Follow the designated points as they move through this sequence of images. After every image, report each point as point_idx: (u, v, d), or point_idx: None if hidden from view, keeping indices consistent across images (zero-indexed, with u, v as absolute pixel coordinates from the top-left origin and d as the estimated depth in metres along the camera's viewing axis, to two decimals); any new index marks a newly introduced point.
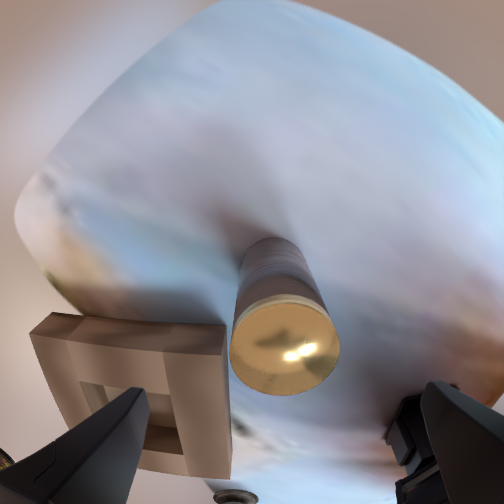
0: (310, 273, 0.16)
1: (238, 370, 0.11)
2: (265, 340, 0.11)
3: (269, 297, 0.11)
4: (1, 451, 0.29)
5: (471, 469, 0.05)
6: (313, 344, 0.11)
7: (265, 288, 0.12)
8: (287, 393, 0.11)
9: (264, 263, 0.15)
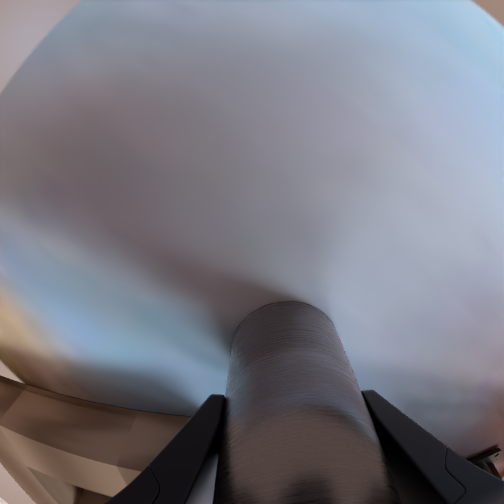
0: (358, 386, 0.08)
1: None
2: None
3: None
4: None
5: None
6: None
7: (278, 491, 0.04)
8: None
9: (273, 386, 0.07)
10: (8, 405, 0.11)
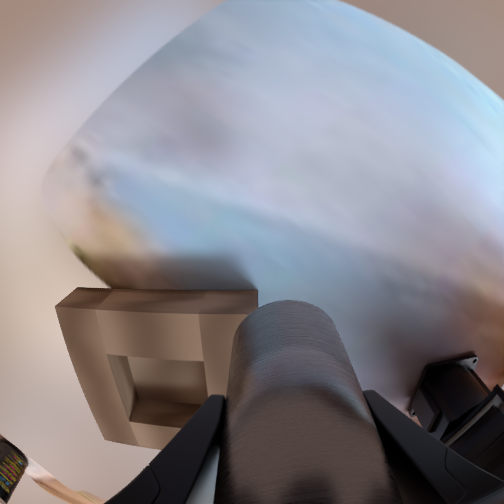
0: (359, 385, 0.08)
1: None
2: None
3: None
4: (13, 447, 0.30)
5: None
6: None
7: (279, 490, 0.04)
8: None
9: (274, 385, 0.07)
10: (101, 299, 0.20)
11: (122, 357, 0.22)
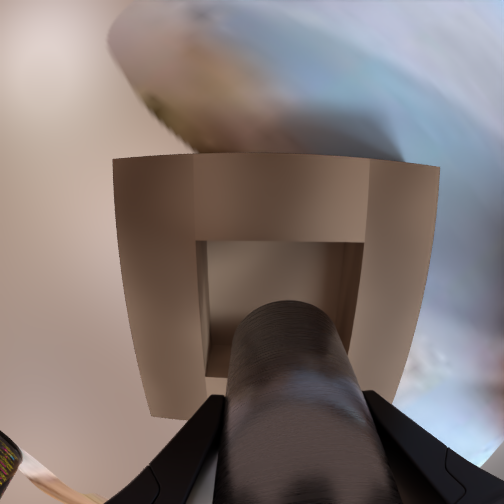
0: (358, 385, 0.07)
1: None
2: None
3: None
4: (3, 436, 0.23)
5: None
6: None
7: (278, 491, 0.04)
8: None
9: (273, 385, 0.07)
10: None
11: (204, 264, 0.15)
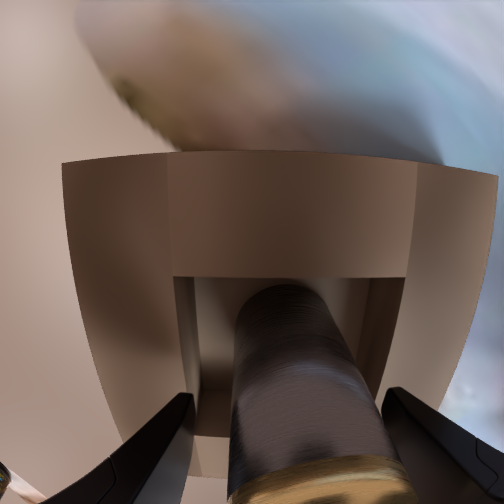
0: (351, 354, 0.09)
1: None
2: None
3: (302, 465, 0.04)
4: None
5: (426, 485, 0.05)
6: None
7: (290, 432, 0.05)
8: None
9: (278, 351, 0.08)
10: None
11: (190, 299, 0.11)
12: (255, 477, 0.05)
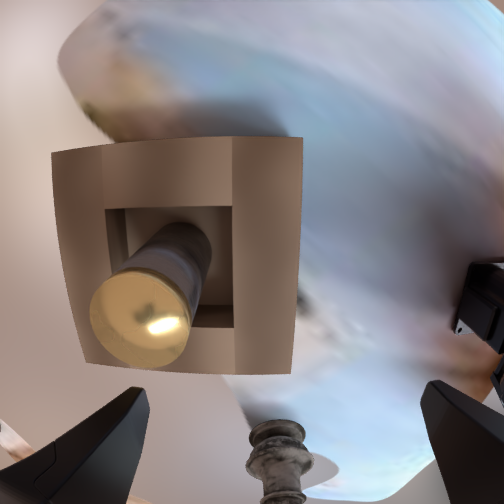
0: (196, 253, 0.16)
1: (101, 338, 0.11)
2: (115, 309, 0.11)
3: (122, 269, 0.11)
4: None
5: (471, 469, 0.05)
6: (158, 315, 0.11)
7: (127, 262, 0.12)
8: (149, 365, 0.12)
9: (147, 243, 0.15)
10: None
11: (121, 231, 0.18)
12: None
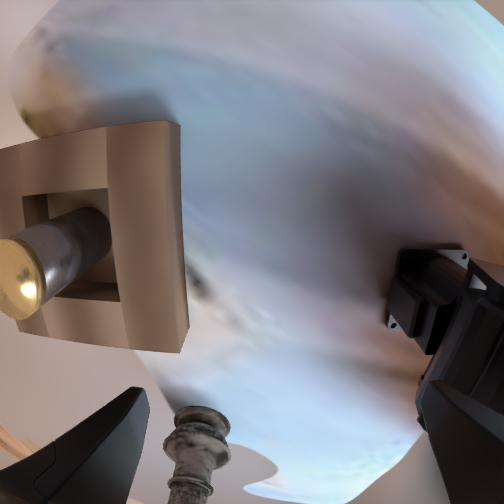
0: (79, 230, 0.16)
1: None
2: None
3: (3, 238, 0.12)
4: None
5: (471, 469, 0.05)
6: (16, 273, 0.11)
7: (12, 235, 0.13)
8: (18, 317, 0.12)
9: None
10: None
11: (42, 215, 0.19)
12: None
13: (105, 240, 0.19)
